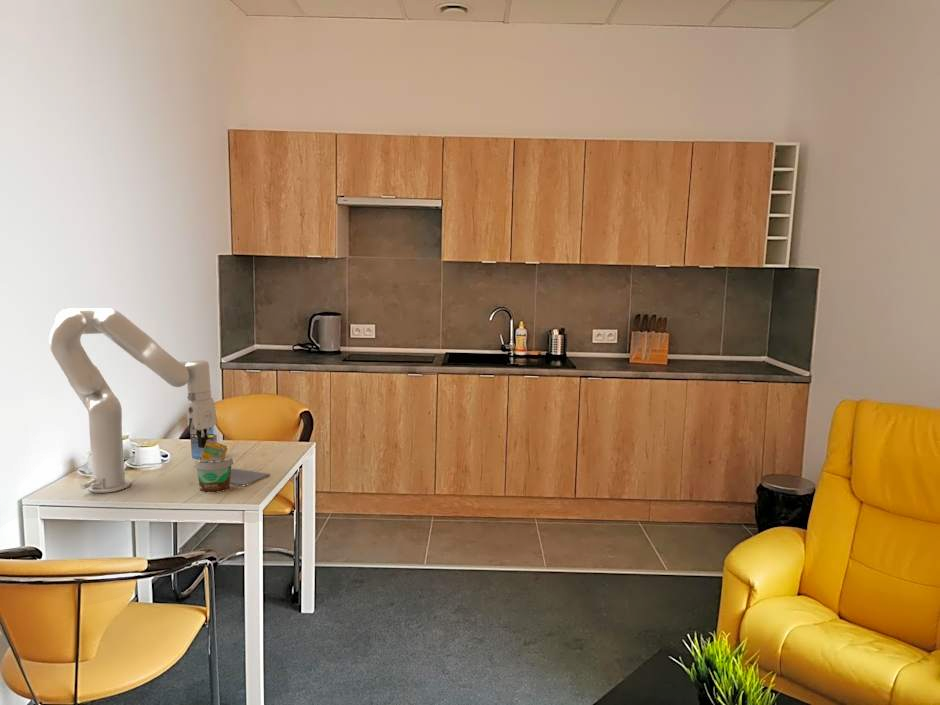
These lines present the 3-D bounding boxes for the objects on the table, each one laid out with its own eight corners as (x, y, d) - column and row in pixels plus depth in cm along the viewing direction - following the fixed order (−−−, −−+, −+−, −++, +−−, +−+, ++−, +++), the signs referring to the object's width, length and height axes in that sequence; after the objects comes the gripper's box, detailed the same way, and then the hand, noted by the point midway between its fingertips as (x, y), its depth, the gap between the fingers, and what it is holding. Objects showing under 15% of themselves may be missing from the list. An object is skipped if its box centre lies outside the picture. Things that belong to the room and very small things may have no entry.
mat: (245, 486, 249) (245, 484, 249) (207, 480, 255) (207, 478, 255) (269, 475, 261) (269, 473, 261) (233, 470, 267) (232, 468, 267)
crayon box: (220, 472, 264) (229, 443, 262) (217, 475, 261) (227, 446, 259) (199, 465, 263) (209, 436, 261) (197, 469, 260) (206, 439, 258)
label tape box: (218, 456, 285) (216, 424, 283) (214, 459, 281) (213, 427, 279) (195, 456, 285) (193, 424, 283) (191, 459, 281) (189, 427, 279)
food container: (193, 495, 240) (192, 465, 239) (195, 489, 246) (193, 459, 245) (234, 492, 244) (232, 462, 242) (234, 486, 250) (233, 457, 248)
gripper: (192, 401, 251) (196, 454, 254) (222, 392, 265) (226, 442, 268) (175, 399, 254) (179, 452, 257) (206, 391, 268) (209, 440, 271)
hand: (203, 447), depth 262 cm, fingers closed
